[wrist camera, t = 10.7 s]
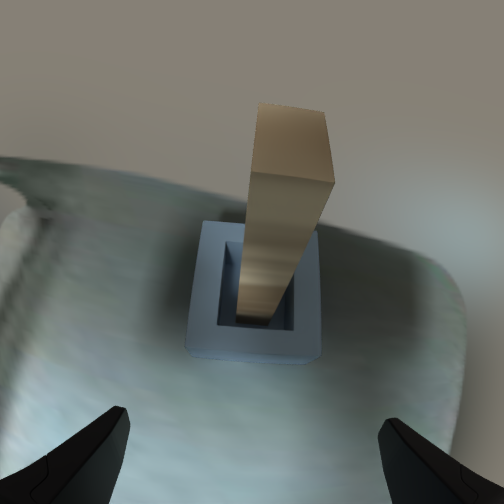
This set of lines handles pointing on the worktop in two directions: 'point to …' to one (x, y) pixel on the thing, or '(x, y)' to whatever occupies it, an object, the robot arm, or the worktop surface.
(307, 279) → the blue-grey socket block
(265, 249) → the slat
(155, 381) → the worktop surface
